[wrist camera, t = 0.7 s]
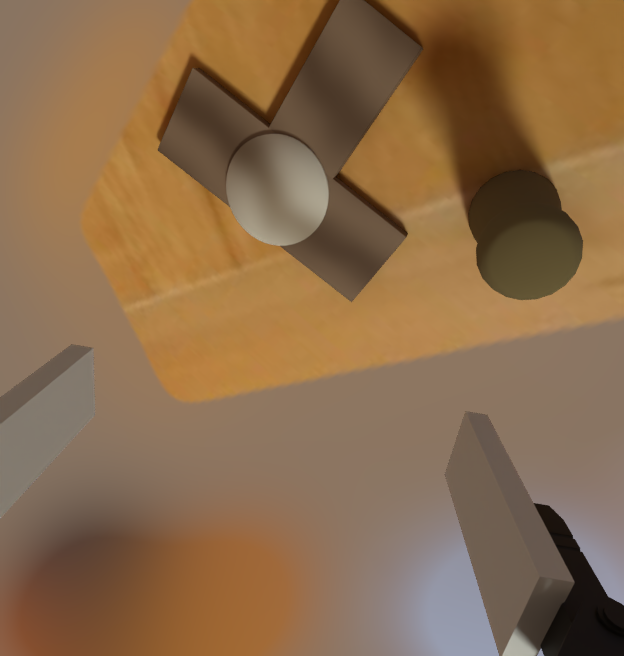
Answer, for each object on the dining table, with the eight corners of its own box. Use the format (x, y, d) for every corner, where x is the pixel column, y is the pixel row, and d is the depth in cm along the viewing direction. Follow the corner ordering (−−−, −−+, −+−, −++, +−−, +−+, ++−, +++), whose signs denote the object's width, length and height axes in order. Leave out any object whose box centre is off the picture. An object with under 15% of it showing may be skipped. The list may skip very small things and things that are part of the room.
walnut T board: (264, -81, 30) (256, -88, 29) (506, 116, 31) (507, 117, 29) (161, 156, 39) (152, 157, 38) (349, 303, 40) (345, 309, 39)
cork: (452, 203, 34) (445, 244, 24) (534, 151, 31) (562, 175, 22) (494, 270, 35) (504, 334, 26) (577, 226, 32) (622, 280, 23)
